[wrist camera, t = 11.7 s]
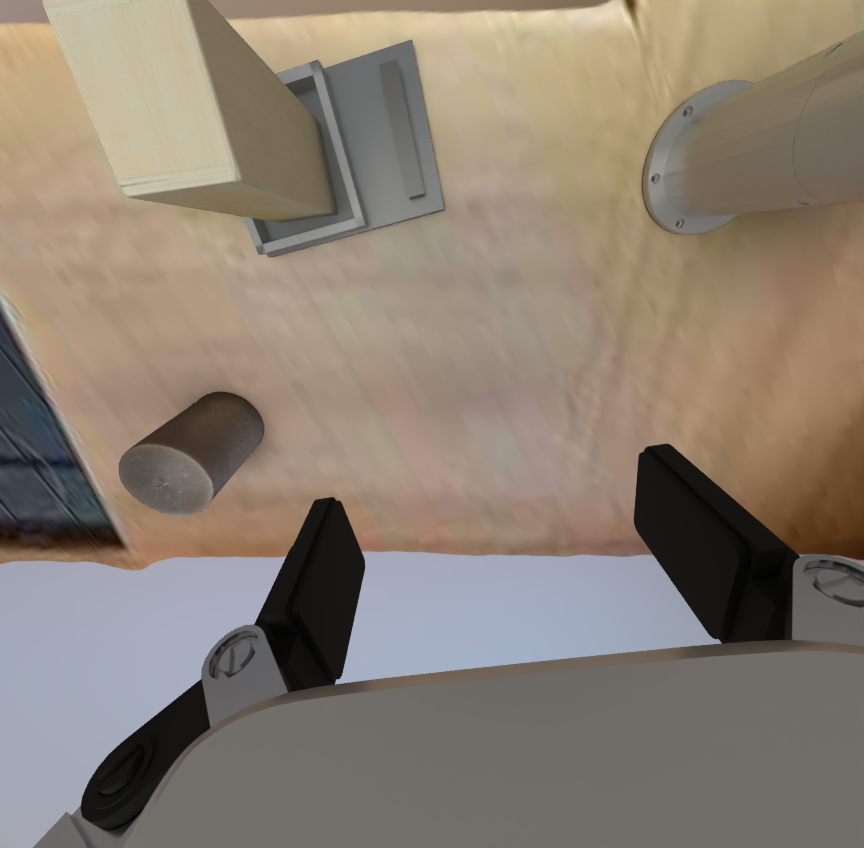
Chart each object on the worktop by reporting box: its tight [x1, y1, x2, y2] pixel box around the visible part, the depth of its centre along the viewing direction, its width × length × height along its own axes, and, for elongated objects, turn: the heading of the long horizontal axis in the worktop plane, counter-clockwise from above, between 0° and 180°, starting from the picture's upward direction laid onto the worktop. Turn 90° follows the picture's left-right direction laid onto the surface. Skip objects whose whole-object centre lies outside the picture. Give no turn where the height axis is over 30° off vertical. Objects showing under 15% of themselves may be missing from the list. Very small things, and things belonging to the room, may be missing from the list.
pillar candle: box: [119, 392, 264, 516], centre depth 43 cm, size 10×10×15 cm
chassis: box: [243, 40, 444, 257], centre depth 35 cm, size 20×13×4 cm, turn 103°
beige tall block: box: [42, 0, 337, 222], centre depth 26 cm, size 8×7×21 cm
